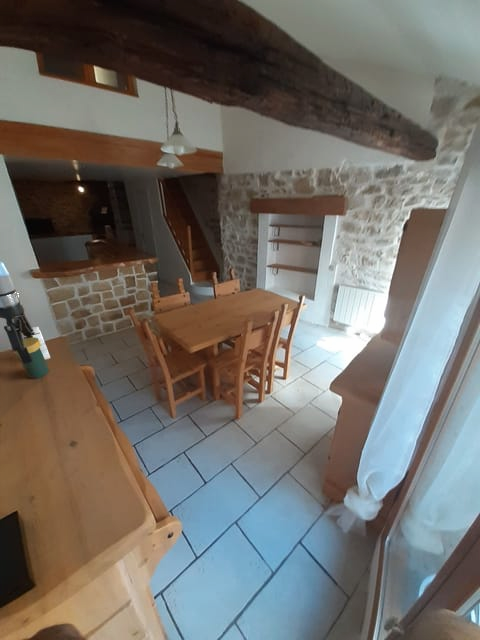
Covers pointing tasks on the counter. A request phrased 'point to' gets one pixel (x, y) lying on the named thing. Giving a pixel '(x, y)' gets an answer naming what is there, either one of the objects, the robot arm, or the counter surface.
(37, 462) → the counter surface
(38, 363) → the green upright cylinder
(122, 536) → the counter surface
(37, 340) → the lid
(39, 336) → the syrup box
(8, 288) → the robot arm
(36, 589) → the counter surface
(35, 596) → the counter surface
